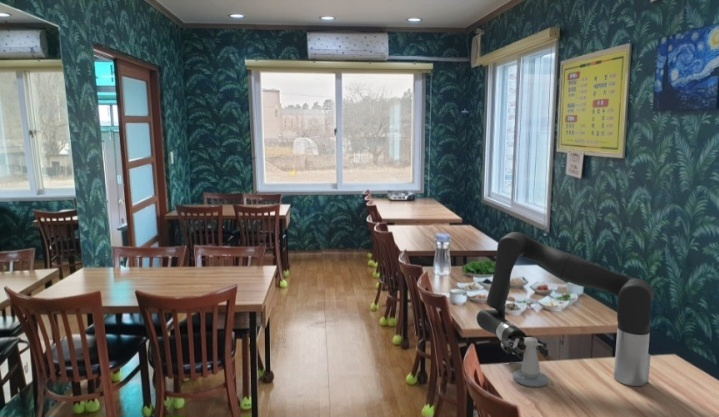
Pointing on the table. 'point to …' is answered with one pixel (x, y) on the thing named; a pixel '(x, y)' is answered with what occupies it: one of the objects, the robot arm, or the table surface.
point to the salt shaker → (530, 359)
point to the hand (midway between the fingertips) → (534, 354)
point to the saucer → (536, 382)
